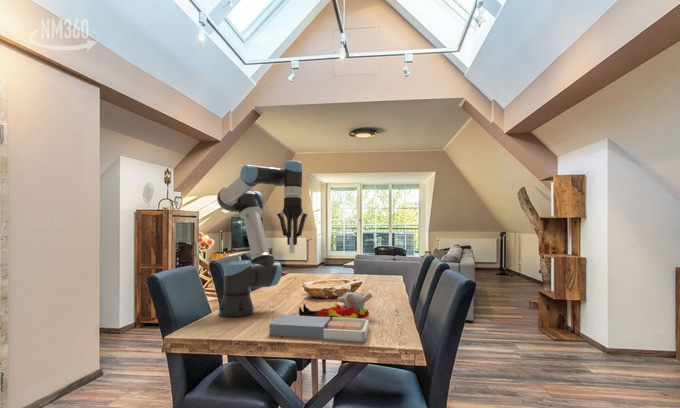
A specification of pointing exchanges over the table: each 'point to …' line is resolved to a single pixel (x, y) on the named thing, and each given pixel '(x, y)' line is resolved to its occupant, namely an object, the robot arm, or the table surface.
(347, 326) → the tile
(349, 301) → the toy
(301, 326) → the flat grey box
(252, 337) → the table surface
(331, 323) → the tile
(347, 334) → the box
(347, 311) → the figurine
